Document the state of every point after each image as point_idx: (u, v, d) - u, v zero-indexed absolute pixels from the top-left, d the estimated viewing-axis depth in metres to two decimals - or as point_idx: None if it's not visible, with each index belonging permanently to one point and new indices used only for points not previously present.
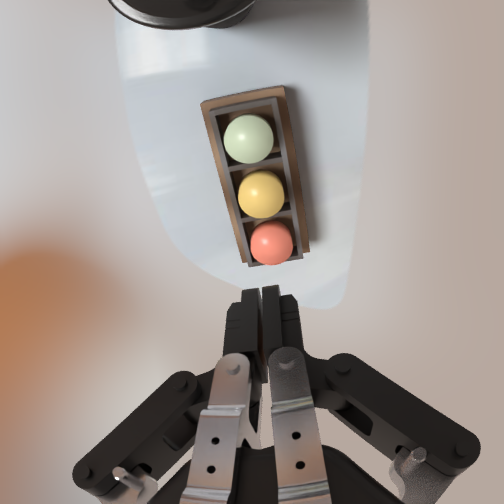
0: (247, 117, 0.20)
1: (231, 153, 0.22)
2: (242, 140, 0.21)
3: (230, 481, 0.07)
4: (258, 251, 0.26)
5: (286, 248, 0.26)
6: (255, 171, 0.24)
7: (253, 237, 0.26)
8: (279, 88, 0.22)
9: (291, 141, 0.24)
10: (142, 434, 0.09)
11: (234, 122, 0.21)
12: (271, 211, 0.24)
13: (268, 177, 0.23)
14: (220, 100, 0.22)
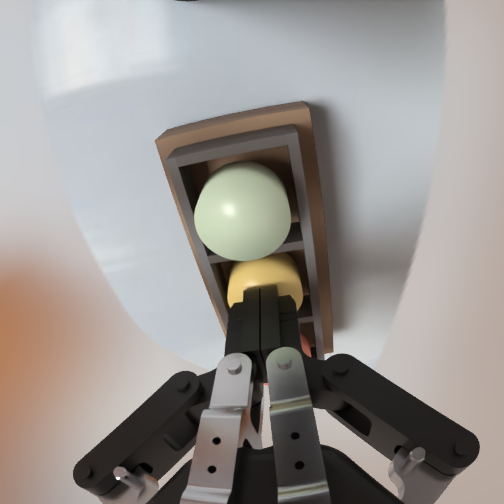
0: (239, 177, 0.10)
1: (210, 243, 0.12)
2: (230, 221, 0.11)
3: (230, 481, 0.07)
4: None
5: None
6: None
7: None
8: (301, 109, 0.12)
9: (319, 205, 0.14)
10: (143, 434, 0.09)
11: (213, 187, 0.11)
12: None
13: (277, 268, 0.14)
14: (190, 133, 0.12)
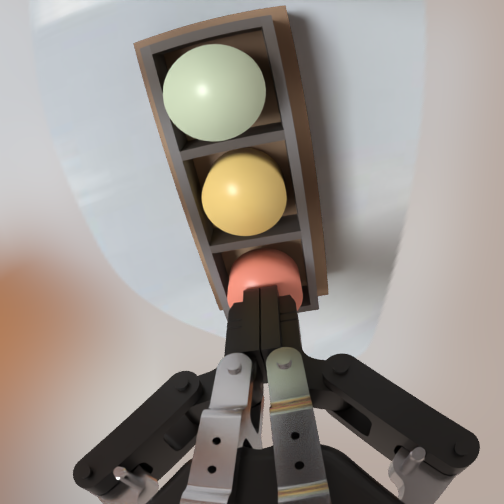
0: (210, 45, 0.09)
1: (179, 121, 0.10)
2: (200, 93, 0.10)
3: (230, 481, 0.07)
4: None
5: None
6: (234, 151, 0.13)
7: (231, 280, 0.14)
8: (277, 8, 0.10)
9: (301, 103, 0.12)
10: (143, 434, 0.09)
11: (183, 57, 0.09)
12: (264, 224, 0.13)
13: (256, 160, 0.12)
14: (168, 33, 0.11)
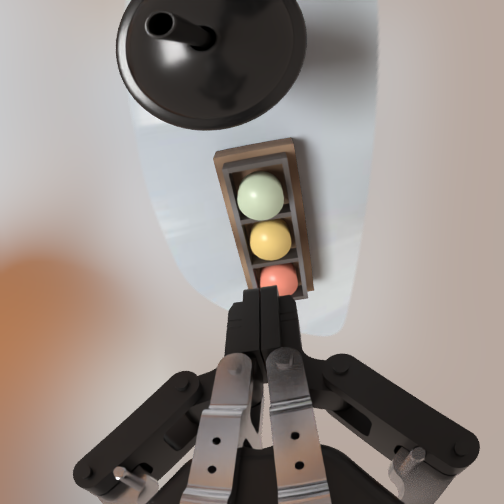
0: (259, 178, 0.23)
1: (244, 211, 0.24)
2: (254, 199, 0.24)
3: (230, 481, 0.07)
4: None
5: (292, 285, 0.29)
6: None
7: (263, 275, 0.29)
8: (289, 144, 0.24)
9: (299, 194, 0.26)
10: (143, 434, 0.09)
11: (247, 183, 0.23)
12: (280, 254, 0.27)
13: (277, 225, 0.26)
14: (232, 155, 0.25)
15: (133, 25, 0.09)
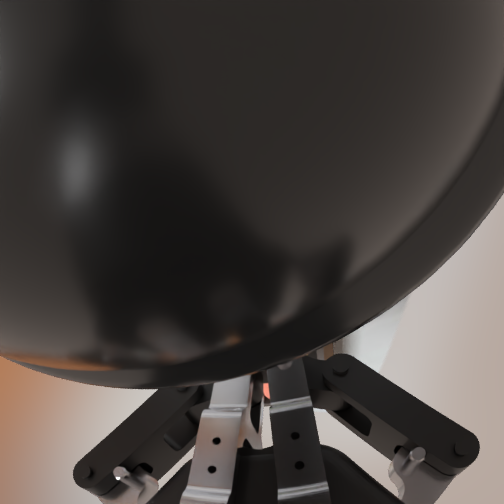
0: None
1: None
2: None
3: (230, 481, 0.07)
4: None
5: None
6: None
7: None
8: None
9: None
10: (143, 434, 0.09)
11: None
12: None
13: None
14: None
15: None
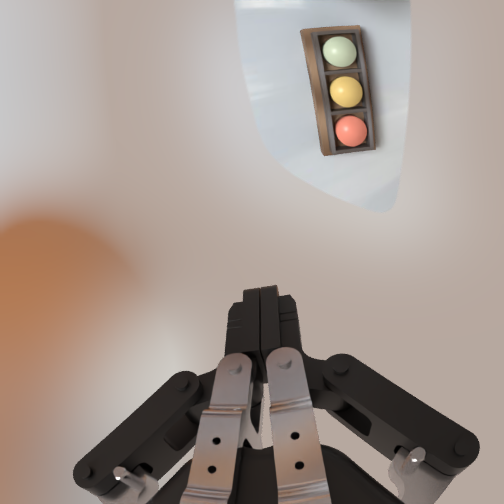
0: (340, 37, 0.26)
1: (329, 58, 0.28)
2: (336, 51, 0.27)
3: (230, 481, 0.07)
4: (342, 134, 0.32)
5: (362, 133, 0.32)
6: (341, 76, 0.30)
7: (339, 123, 0.32)
8: (356, 26, 0.27)
9: (364, 62, 0.29)
10: (143, 434, 0.09)
11: (332, 39, 0.26)
12: (353, 102, 0.30)
13: None
14: (317, 28, 0.27)
15: None
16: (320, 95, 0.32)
